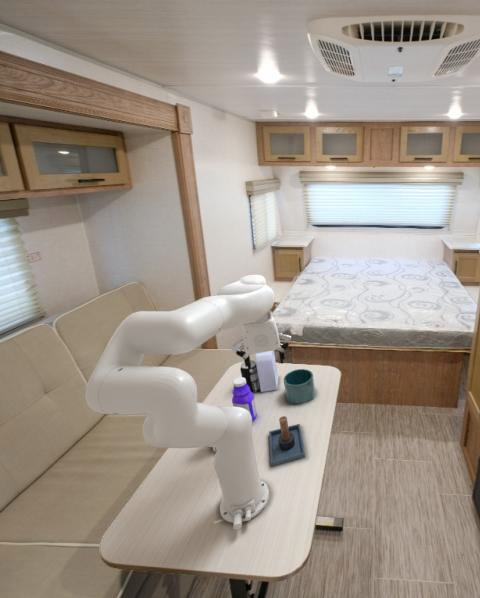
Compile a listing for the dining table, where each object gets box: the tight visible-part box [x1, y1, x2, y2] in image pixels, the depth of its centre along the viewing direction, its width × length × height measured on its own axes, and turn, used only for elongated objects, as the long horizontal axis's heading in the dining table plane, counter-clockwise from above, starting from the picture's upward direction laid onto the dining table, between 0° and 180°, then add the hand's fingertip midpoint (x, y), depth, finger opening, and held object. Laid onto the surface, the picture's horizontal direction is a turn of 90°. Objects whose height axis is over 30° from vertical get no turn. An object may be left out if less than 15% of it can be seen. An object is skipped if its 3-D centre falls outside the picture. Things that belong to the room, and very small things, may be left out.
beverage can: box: [239, 359, 261, 393], centre depth 140 cm, size 7×7×12 cm
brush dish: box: [268, 423, 306, 467], centre depth 114 cm, size 14×10×2 cm
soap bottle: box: [254, 350, 279, 393], centre depth 141 cm, size 9×7×23 cm
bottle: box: [231, 376, 258, 423], centre depth 122 cm, size 7×6×17 cm
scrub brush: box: [278, 416, 295, 451], centre depth 112 cm, size 5×5×11 cm
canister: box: [283, 368, 316, 406], centre depth 137 cm, size 11×11×9 cm
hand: (266, 364), depth 109 cm, fingers open, 9 cm apart
